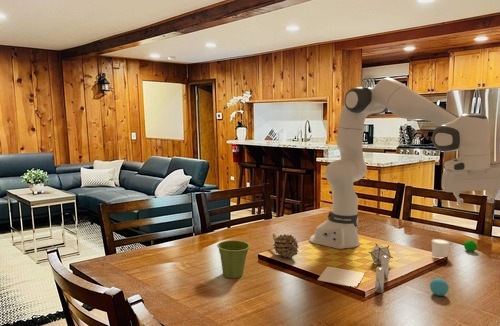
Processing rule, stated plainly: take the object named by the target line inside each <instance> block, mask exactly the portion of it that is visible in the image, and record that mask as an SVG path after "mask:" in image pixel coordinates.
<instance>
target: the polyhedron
mask: <svg viewBox="0 0 500 326" xmlns="http://www.w3.org/2000/svg"><path fill="white" fill-rule="evenodd" d="M463 247H464V250H465V251H467V252H469V253H472V252H475V251H476V250H477V247H478V246H477V243H476V241H474V240H471V239H469V240H466V241H465V242H464V243H463Z"/></svg>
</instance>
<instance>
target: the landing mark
mask: <svg viewBox="0 0 500 326" xmlns="http://www.w3.org/2000/svg"><path fill="white" fill-rule="evenodd" d="M364 276H365V272H361V271H356V270H352V269H351V270H349V269H343V268H339V267H338V268H337V267H334V266H327V267H326V268H325V269H324V271H323V272H322V274H320V275H319V277H318V278H317V281H320V282H325V283H331V284H335V285H341V286H346V287H350V286H351V287H350V288H355V287H354V286H357V285H358V283H360V284H361V282H362V280H363V278H364ZM360 281H361V282H360Z"/></svg>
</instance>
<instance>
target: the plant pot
mask: <svg viewBox="0 0 500 326" xmlns="http://www.w3.org/2000/svg"><path fill="white" fill-rule="evenodd" d="M250 247H251V246H250V243H248V242H246V241H242V240H235V239H233V240H230V239H229V240H223V241H220V242H218V243H217V247H216V248H218V252H219V256H220V262H221V271H222V275H223V277H225V278H228V279H229V278H231V279H237V278H241V277H242V276H243V275H244V269H245V266H246V259H247V255H248V251H249V249H250Z"/></svg>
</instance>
